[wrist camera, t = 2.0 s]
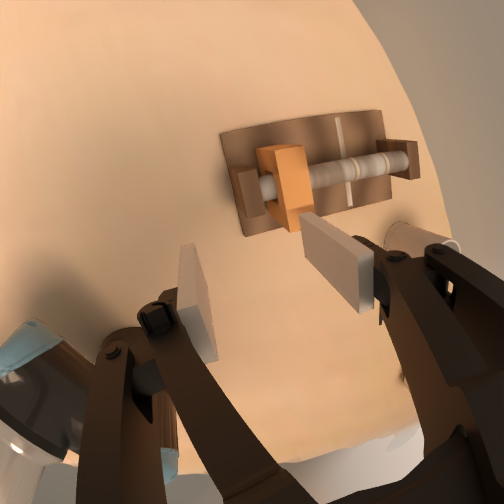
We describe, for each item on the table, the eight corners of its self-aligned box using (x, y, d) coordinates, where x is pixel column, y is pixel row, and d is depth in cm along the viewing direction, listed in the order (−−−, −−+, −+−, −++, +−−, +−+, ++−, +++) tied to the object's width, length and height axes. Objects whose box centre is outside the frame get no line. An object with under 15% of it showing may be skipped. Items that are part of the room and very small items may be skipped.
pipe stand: (243, 234, 40) (256, 257, 33) (219, 134, 35) (227, 131, 27) (387, 197, 43) (421, 209, 35) (376, 110, 37) (412, 108, 30)
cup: (384, 216, 44) (434, 239, 33) (417, 217, 46) (465, 239, 35) (377, 261, 47) (420, 293, 36) (409, 259, 48) (453, 287, 37)
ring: (269, 213, 37) (290, 233, 29) (255, 149, 34) (274, 150, 26) (291, 208, 37) (317, 225, 30) (278, 144, 34) (303, 145, 26)
